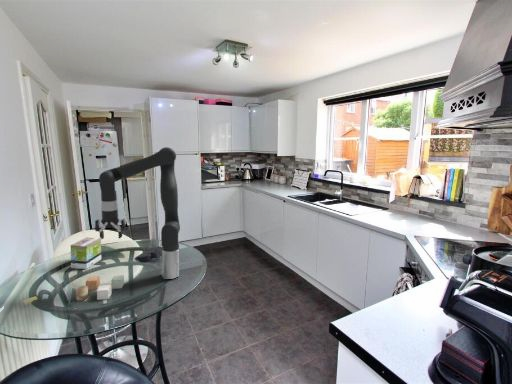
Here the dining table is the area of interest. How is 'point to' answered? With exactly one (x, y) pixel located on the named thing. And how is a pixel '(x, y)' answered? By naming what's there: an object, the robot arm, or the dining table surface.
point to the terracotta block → (93, 282)
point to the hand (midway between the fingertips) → (111, 238)
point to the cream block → (104, 292)
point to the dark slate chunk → (150, 255)
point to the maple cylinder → (81, 293)
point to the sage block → (117, 281)
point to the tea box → (85, 253)
